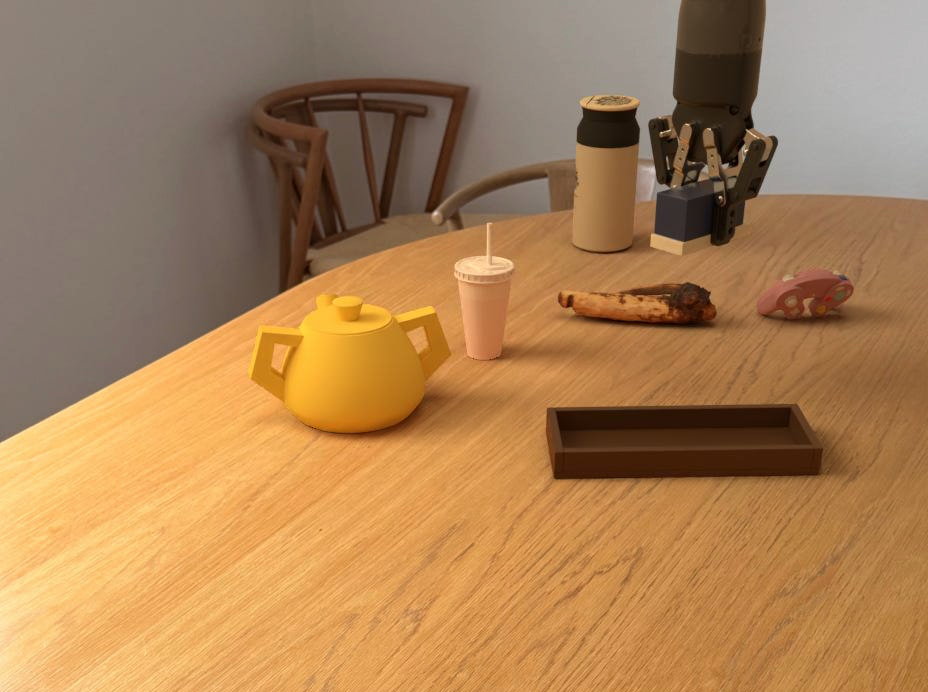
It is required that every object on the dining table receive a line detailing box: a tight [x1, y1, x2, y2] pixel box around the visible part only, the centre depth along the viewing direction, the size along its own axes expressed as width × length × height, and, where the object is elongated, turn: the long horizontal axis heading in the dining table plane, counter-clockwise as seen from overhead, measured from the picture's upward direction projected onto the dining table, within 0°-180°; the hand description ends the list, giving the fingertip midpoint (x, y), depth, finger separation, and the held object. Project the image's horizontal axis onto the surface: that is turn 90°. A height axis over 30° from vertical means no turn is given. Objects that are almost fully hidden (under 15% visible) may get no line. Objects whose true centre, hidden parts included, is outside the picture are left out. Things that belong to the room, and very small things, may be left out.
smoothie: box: [453, 222, 516, 361], centre depth 132 cm, size 6×6×14 cm
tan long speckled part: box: [557, 281, 718, 325], centre depth 144 cm, size 9×5×18 cm
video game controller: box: [756, 268, 855, 321], centre depth 143 cm, size 10×5×7 cm, turn 104°
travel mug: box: [571, 94, 641, 254], centre depth 162 cm, size 8×8×18 cm
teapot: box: [247, 293, 453, 434], centre depth 123 cm, size 20×18×11 cm
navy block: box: [649, 178, 753, 257], centre depth 119 cm, size 10×4×5 cm, turn 130°
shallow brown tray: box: [545, 403, 824, 479], centre depth 115 cm, size 24×10×3 cm, turn 91°
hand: (701, 237), depth 120 cm, fingers closed on navy block, 4 cm apart
